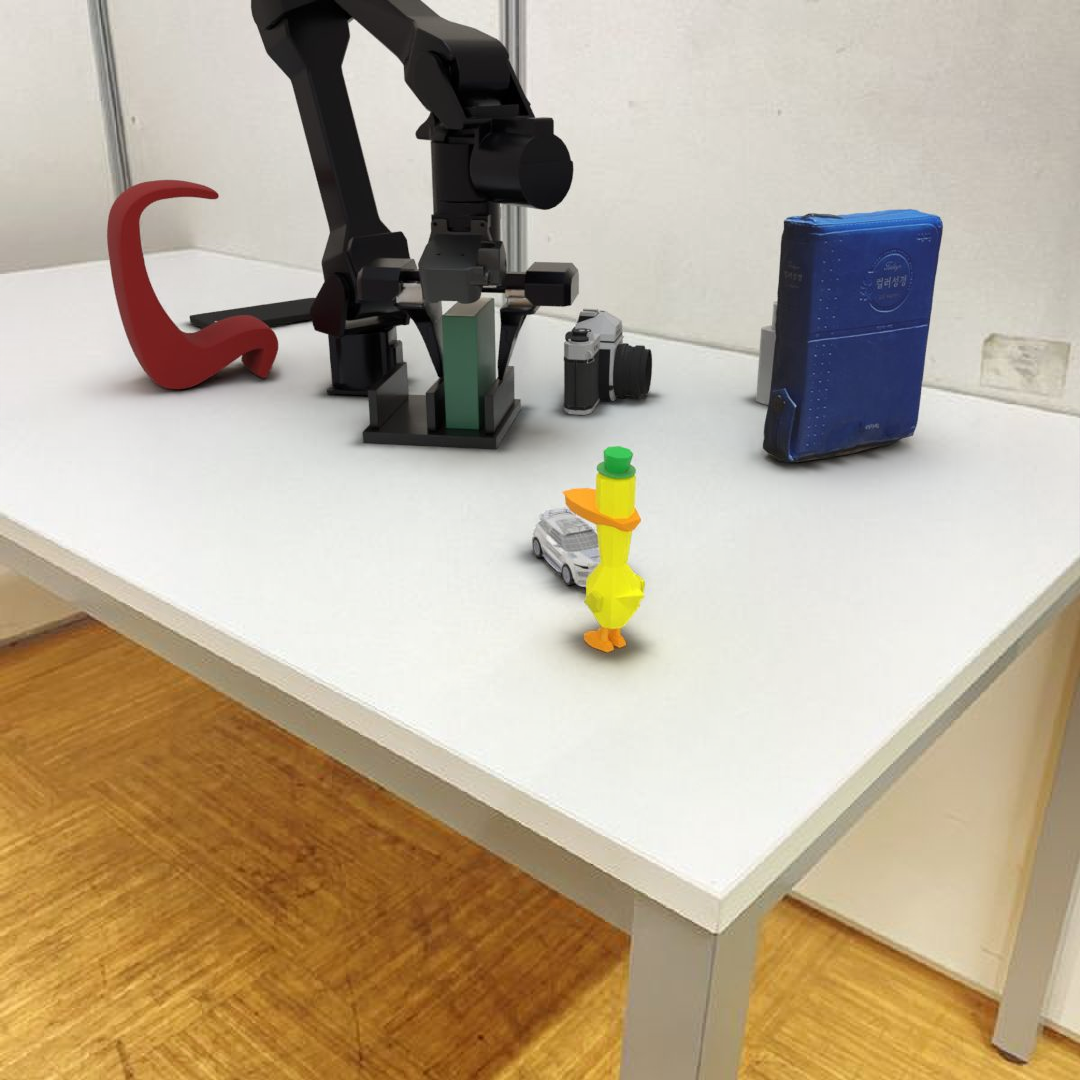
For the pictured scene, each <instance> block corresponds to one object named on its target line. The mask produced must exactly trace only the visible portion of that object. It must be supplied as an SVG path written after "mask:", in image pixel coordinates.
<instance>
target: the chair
mask: <svg viewBox="0 0 1080 1080" xmlns="http://www.w3.org/2000/svg"><path fill="white" fill-rule="evenodd" d="M219 197H220V195H219V193H218V191H216V190H214V189H213V188H211V187H209V186H208V185H207V186H206V185H204V184H200V183H196V182H191V181H187V180H178V179H158V180H149V181H143V182H140V183H136V184H134V185H132V186H130V187H128V188H127V189H125V190H124V191H123V192H121V193H120V195H118V196H117V198H116V199H115V200H114V202H113V203H112V205H111V207H110V210H109V212H108V218H107V227H106V242H107V253H108V258H109V267H110V273H111V279H112V285H113V290H114V296H115V300H116V304H117V308H118V313H119V316H120V319H121V322H122V326H123V329H124V330H123V331H124V333H125V335H126V338H127V340H128V341H127V342H128V343H129V345H130V348H131V350H132V352H133V354H134V356H135V358H136V360H137V362H138V363H139V365H140V367H141V369H142V370H143V371H144V373H145V374H146V376H148V377H149V379H150V380H151V381H152V382H154V383H155V384H156V385H158V386H160V387H162V388H165V389H170V390H183V389H189V388H192V387H194V386H197V385H199V384H201V383H202V382H204V381H206V380H208V379H209V378H211V377H212V376H214V375H216V374H217V373H219V372H220V371H222V370H224V369H225V368H226V367H228V366H230V365H231V364H232V363H234V362H235V361H236V360H238V359H239V358H240V357H241V358H240V359H241V360H240V361H241V363H242V364H243V365H244V366H245V367H246V368H247V369H248V370H249V371H250V372H252V374H254V375H256V376H257V377H259V378H263V379H265V378H267V377H268V375H269V373H270V371H271V370H272V367H273V365H274V363H275V361H276V358H277V355H278V351H279V340H278V337H277V335H276V333H275V331H274V330H273V329H272V328H271V327H270V326H268V325H267V324H265V323H264V322H262V321H261V320H259V319H258V318H256V317H254V316H250V315H239V316H233V317H229V318H225V319H223V320H220V321H218V322H215V323H213V324H211V325H209V326H207V327H205V328H201V329H199V330H197V331H195V332H185V331H182V330H181V329H180V328H179V327H178V326H177V324H176V323H175V322H174V321H173V320H172V318H171V317H170V316H169V314H168V313H167V311H166V310H165V309H164V306H163V305H162V304H161V302H160V300H159V299H158V297H157V294H156V292H155V290H154V288H153V286H152V282H151V280H150V277H149V274H148V271H147V268H146V267H147V266H146V262H145V256H144V253H143V247H142V246H143V245H142V239H141V226H140V224H141V223H140V220H141V216H142V214H143V212H144V210H145V209H147V207H149V206H150V205H152V204H153V203H155V202H158V201H161V200H169V199H177V198H198V199H206V200H217V199H219Z"/></svg>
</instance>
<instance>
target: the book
mask: <svg viewBox="0 0 1080 1080" xmlns="http://www.w3.org/2000/svg"><path fill="white" fill-rule="evenodd" d="M782 230H783V231H782V234H781V238H780V254H779V266H778V267H779V268H778V271H779V272H778V283H777V299H776V301H777V310H776V323H775V333H776V340H775V347H774V357H773V368H772V379H771V389H770V397H769V403H768V405H767V408H766V414H765V420H764V425H763V441H762V449H763V450H764V452H766V453H767V454H769V455H770V456H771V457H774V458H775V459H776V460H777V461H781V462H784V463H799V462H800V463H801V462H806V461H811V460H812V461H813V460H821V459H828V458H834V457H840V456H846V455H850V454H855V453H859V452H862V451H866V450H870V449H874V448H879V447H886V446H890V445H892V444H895V443H897V442H899V441H901V440H902V439H907V438H910V437H913V436H914V434H915V431H916V429H917V427H918V421H919V416H920V415H919V414H920V407H921V397H922V388H923V380H924V374H925V373H924V372H925V363H926V354H927V346H928V339H929V333H930V325H931V317H932V315H931V314H932V312H933V311H932V309H933V300H934V291H935V285H936V278H937V277H936V276H937V271H938V266H939V265H938V264H939V256H940V251H941V244H942V239H943V231H944V224H943V221H942V219H941V216H938V214H932V213H927V212H923V211H920V210H918V209H912V208H906V209H901V208H900V209H886V210H876V211H871V212H854V213H848V214H831V213H815V212H812V213H811V212H809V213H807V214H804V215H791V216H788V217H786V218H785V219H784V220H783V229H782Z"/></svg>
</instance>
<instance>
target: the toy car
mask: <svg viewBox="0 0 1080 1080" xmlns="http://www.w3.org/2000/svg"><path fill="white" fill-rule="evenodd" d="M531 543H532V550H533V554H534V556H535V557H536V558H544V559H545V561H546V562H547V563H548V564H549V565H550V566H551V567H552V568H553V569H554V570H555V571H556V572H558V573H561V576H562V580H563V581H564V583H565V585H567V586H572V585H577V586H579V587H583V588H586V579H587V578H588V577H589V575H590V574H591V573H592V572H593V571H594V569H595V568H596V567H597V566H598V564H599V563H600V553H599V545H598V536H597V531H595V530H594V529H593V527H591V525H589V523H587V522H585V521H584V520H583V519H581V517H579V516H577V515H576V514H575V513H573V512H572V511H571V510H570V509H569V508H568V507H566V506H565V507H561V508H555V509H554V508H553V509H549V510H545V511H543V512H542V513H541V514H540V515H539V521H538V522H537V523H536V524H535V527H534V529H533V532H532V541H531Z"/></svg>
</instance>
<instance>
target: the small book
mask: <svg viewBox="0 0 1080 1080" xmlns="http://www.w3.org/2000/svg"><path fill="white" fill-rule="evenodd" d="M495 306H496V305H495V298H494V297H486V296H485V297H483V296H481V297H480V299H479V300H478V301H476V302H474V303H470V304H461V303H460V302H458V301H456V302H455V304H453V305H452V306H451V307H450V308H448V310H447V311H445V313H442V314H443V315H442V338H443V363H444V388H445V412H446V428H453V429H475V430H479V429H480V427H481V426H482V424H483V423H484V422H485V406H484V395H485V394H486V392H487V391H488V390H489V388H490V387H491V386H492V384H493V383H494V382H495V380H496V379H497V359H496V355H497V354H496V352H497V351H496V311H495V310H496V309H495Z"/></svg>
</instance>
